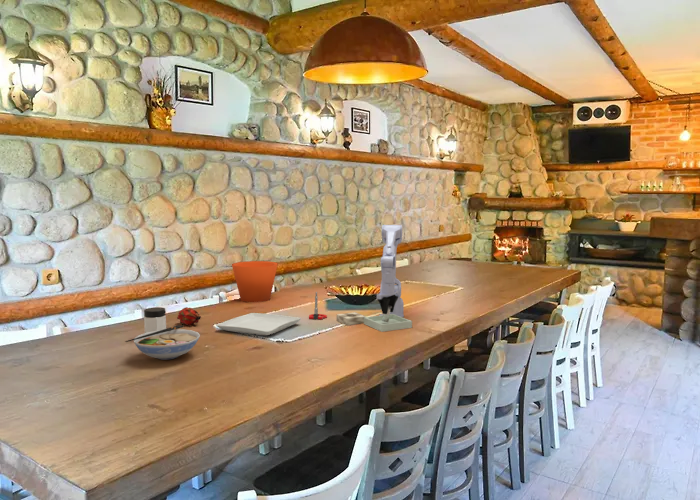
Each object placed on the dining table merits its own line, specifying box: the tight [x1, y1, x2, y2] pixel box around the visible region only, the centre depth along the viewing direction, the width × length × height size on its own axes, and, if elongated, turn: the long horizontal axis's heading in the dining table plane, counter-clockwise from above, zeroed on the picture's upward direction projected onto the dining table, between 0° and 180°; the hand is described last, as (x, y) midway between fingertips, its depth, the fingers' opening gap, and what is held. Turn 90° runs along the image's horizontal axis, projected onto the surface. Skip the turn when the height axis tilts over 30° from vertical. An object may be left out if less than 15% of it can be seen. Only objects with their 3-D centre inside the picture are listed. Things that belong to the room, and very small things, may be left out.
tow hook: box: [308, 291, 328, 321], centre depth 259 cm, size 8×13×9 cm
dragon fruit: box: [176, 306, 202, 327], centre depth 243 cm, size 8×8×12 cm
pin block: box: [336, 311, 367, 326], centre depth 250 cm, size 10×10×3 cm
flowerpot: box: [231, 260, 279, 303], centre depth 300 cm, size 25×25×20 cm
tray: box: [363, 314, 413, 333], centre depth 243 cm, size 16×16×3 cm
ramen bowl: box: [124, 324, 201, 361], centre depth 196 cm, size 25×23×8 cm
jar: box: [143, 306, 167, 333], centre depth 220 cm, size 9×8×12 cm
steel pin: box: [382, 305, 392, 322], centre depth 243 cm, size 4×4×7 cm
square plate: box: [215, 312, 302, 336], centre depth 238 cm, size 27×27×4 cm
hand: (387, 312), depth 243 cm, fingers closed on steel pin, 4 cm apart
